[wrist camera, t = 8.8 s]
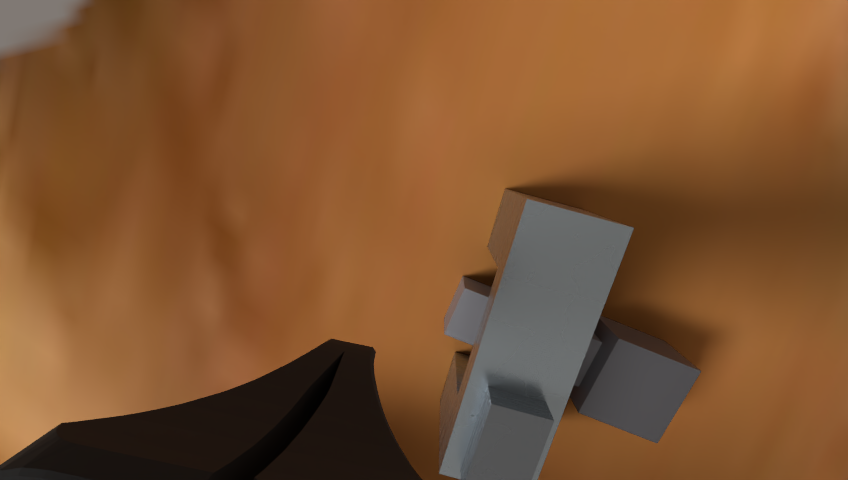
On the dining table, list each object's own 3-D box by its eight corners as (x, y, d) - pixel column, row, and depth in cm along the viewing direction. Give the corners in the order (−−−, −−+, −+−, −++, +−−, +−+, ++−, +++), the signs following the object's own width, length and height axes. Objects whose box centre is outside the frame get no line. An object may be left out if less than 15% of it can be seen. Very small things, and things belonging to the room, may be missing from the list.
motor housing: (440, 400, 22) (438, 497, 16) (505, 188, 19) (534, 202, 13) (510, 419, 22) (536, 523, 16) (584, 210, 19) (650, 233, 13)
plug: (438, 329, 21) (438, 357, 18) (468, 262, 20) (472, 280, 17) (645, 410, 21) (677, 451, 18) (682, 347, 21) (721, 379, 18)
